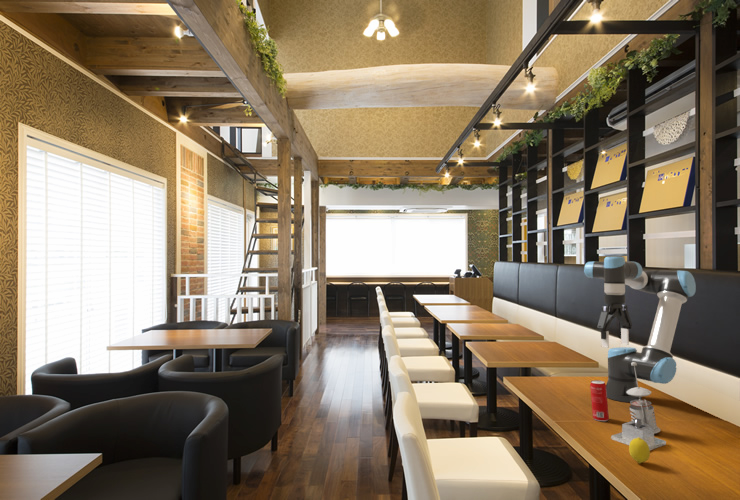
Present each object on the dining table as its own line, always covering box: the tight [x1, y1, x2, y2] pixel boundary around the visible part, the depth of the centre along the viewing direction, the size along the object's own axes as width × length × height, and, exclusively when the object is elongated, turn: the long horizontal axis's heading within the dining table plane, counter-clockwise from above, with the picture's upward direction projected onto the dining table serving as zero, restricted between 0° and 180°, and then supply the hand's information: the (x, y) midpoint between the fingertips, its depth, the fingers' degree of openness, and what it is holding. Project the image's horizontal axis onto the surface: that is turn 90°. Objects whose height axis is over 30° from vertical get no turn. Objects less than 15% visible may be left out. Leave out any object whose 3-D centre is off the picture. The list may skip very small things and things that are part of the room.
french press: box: [626, 362, 661, 435], centre depth 164 cm, size 10×12×25 cm
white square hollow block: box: [621, 420, 655, 443], centre depth 154 cm, size 7×7×4 cm
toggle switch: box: [610, 419, 667, 451], centre depth 154 cm, size 12×12×8 cm
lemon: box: [628, 437, 651, 464], centre depth 137 cm, size 6×6×8 cm
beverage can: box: [589, 379, 610, 422], centre depth 177 cm, size 6×6×15 cm
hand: (615, 345), depth 180 cm, fingers open, 13 cm apart
